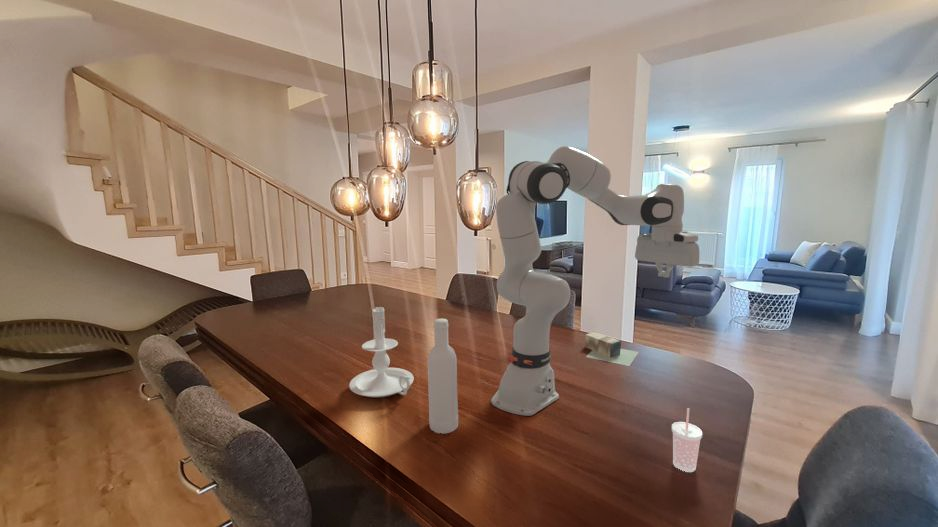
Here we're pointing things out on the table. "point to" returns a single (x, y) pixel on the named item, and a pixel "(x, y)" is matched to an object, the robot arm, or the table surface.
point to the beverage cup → (685, 445)
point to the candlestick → (381, 365)
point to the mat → (615, 357)
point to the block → (602, 344)
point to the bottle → (442, 382)
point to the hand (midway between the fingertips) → (663, 276)
